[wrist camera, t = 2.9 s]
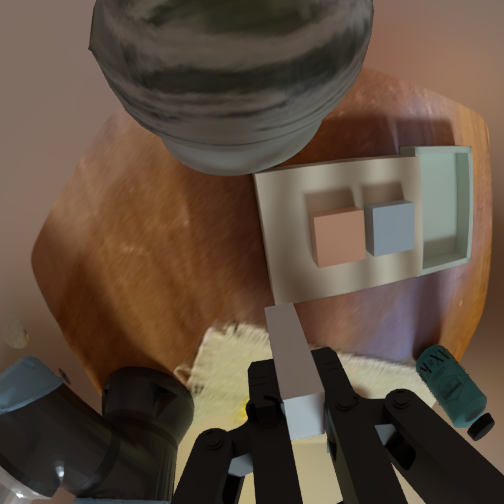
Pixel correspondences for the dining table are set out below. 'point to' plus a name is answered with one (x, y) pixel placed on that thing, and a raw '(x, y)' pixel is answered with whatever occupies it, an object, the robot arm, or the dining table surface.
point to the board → (328, 198)
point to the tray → (445, 204)
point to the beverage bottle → (454, 391)
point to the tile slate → (389, 227)
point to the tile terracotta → (337, 236)
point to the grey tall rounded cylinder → (231, 72)
